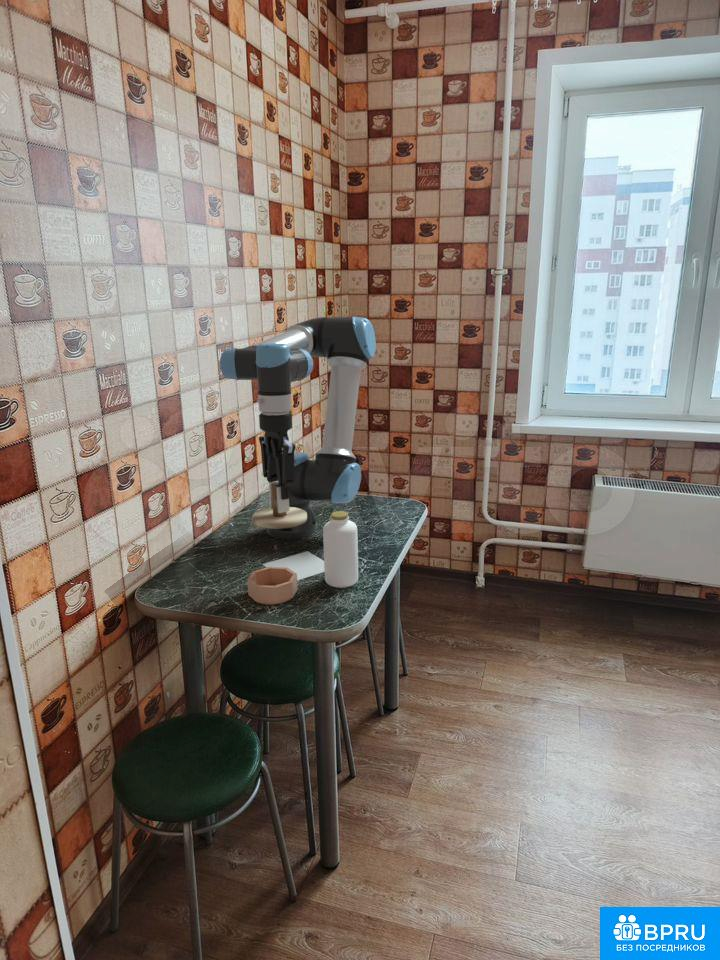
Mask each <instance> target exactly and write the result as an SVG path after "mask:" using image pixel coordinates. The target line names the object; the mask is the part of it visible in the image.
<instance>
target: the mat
mask: <svg viewBox="0 0 720 960" xmlns="http://www.w3.org/2000/svg"><path fill="white" fill-rule="evenodd" d="M262 566H264V568H267V567H286V568H289V569H290V570H292V571H293V572H295V573H296V574H297V581H300V580H301V581H302V580H303V579H307V578H310V577H312V576H317V575H319V574H322V573H325V569H324V559H322V558H320V557H318V556H317V555H315V554H313V553H311V552H310V551H308V550H306V551H303V552H299V553H296V554H292V555H289V556H286V557H283V558H279V559H276V560H272V561H269V562H266V563H263V564H262Z"/></svg>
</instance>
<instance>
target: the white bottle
mask: <svg viewBox="0 0 720 960" xmlns="http://www.w3.org/2000/svg"><path fill="white" fill-rule="evenodd" d="M322 536H323V537H322V539H323V540H322V541H323V542H322V543H323V561H324V569H325V572H324V580H325V582H326V584H327V585H328V586H330V587H333V588H340V589H341V588H343V589H344V588H349V587H352V586H353V585H355V584H356V583H357V582H358V581H359V550H358V549H359V545H358V544H359V543H358V541H359V539H358V527H357V524H356V523H355V522H354V521H352V520H350V516H349V513H348V512H347V511H344V510H339V511H333V512H332V513H331V514H330V520H329V521H328V522H326V523H325V524H323V529H322Z"/></svg>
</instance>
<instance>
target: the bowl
mask: <svg viewBox="0 0 720 960" xmlns="http://www.w3.org/2000/svg"><path fill="white" fill-rule="evenodd" d="M246 582H247V591H248V593H247V594H248V596H249V597H250V598H251V599H252V601H254V602H256V603H258V604H261V605H270V606H272V605H279V604H284V603H286V602H288V601H291V600H292V599H293V598H294V596H295V595H296V593H297V591H298V585H299V584H298V580H297V574H296V573H295V572H293V571H292V570H290V569H289V568H286V567H267V568H266V567H264V568H260V569H257V570H254V571H252V572H251V574H250V575H249V577H248V578H247V580H246Z"/></svg>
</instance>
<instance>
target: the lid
mask: <svg viewBox="0 0 720 960" xmlns="http://www.w3.org/2000/svg"><path fill="white" fill-rule="evenodd" d="M277 484H279V483H278V482H274V483H272V502H273V509H270V507H266V508H263V509H259V510H258V511H255V512H254V513H253V514H252V516H251V517H252V523H253V525H255V526H257V527H260V528H264V529H267V528H270V529H283V528H291V527H295V526H298V525H301V524H303V523H305V522H306V521H307V512H306V511H304V510H302V509H300V508H295V507H289V511H288V512H283V513H278V505H277V487H276V485H277Z"/></svg>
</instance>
